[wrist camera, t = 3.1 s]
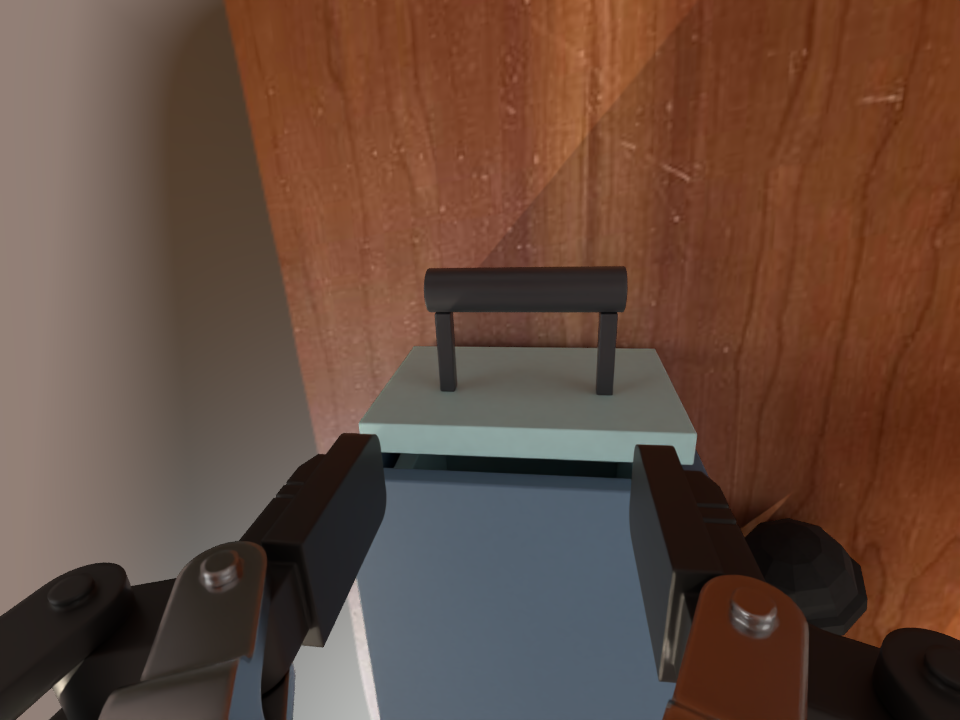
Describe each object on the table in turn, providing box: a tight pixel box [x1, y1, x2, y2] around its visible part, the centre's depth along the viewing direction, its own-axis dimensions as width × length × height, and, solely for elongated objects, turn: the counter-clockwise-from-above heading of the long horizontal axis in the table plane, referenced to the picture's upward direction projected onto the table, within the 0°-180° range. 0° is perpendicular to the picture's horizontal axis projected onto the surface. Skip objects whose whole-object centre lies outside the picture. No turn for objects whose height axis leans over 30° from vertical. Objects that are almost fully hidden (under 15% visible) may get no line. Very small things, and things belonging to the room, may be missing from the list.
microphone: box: [745, 518, 867, 636], centre depth 28 cm, size 6×6×20 cm
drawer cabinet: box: [356, 449, 709, 720], centre depth 24 cm, size 15×13×10 cm
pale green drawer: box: [359, 266, 697, 479], centre depth 23 cm, size 18×11×8 cm, turn 2°
